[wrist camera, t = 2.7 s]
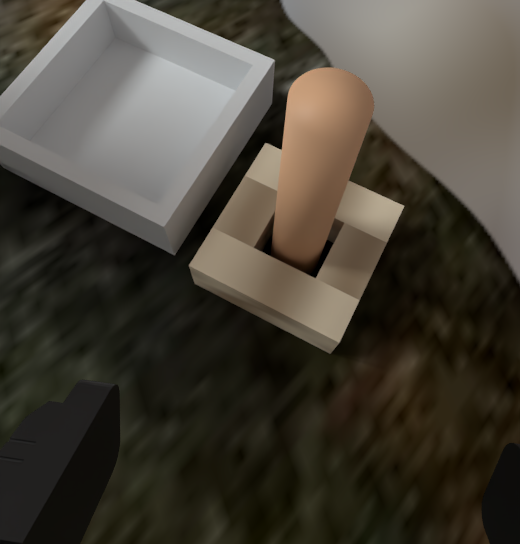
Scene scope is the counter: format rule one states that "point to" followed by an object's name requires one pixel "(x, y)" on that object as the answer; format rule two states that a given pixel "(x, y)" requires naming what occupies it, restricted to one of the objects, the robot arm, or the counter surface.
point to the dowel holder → (283, 278)
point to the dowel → (317, 160)
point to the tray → (134, 116)
